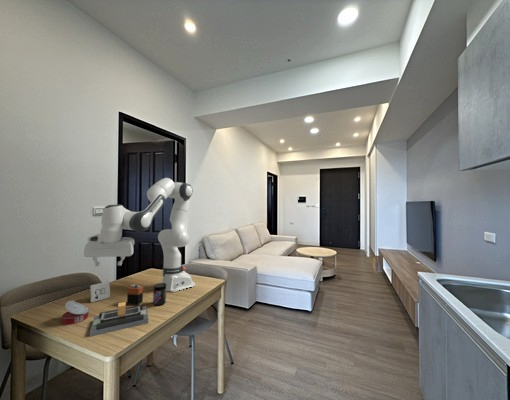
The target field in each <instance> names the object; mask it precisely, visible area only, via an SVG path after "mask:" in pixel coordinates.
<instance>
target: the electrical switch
mask: <svg viewBox="0 0 510 400" xmlns="http://www.w3.org/2000/svg"><path fill="white" fill-rule="evenodd" d="M110 288H111V287H110V281H105V282H100V283H96V284H91V285H90V286H89V289H90V290H89V291H90V300H89V301H90V303H96V302H99V301H102V300H106V299H109V298H111V289H110Z"/></svg>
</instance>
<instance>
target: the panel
mask: <svg viewBox="0 0 510 400" xmlns="http://www.w3.org/2000/svg"><path fill="white" fill-rule="evenodd" d="M148 314H149V313H148V309H147V306H146V305H145V306H143V304H138V305H132V306H128V307H127V306H126V309H125V315H121V316H118V308H117V309H112V310H108V311H102V312H99V314H98V315H94V317H93V321H92V324H91V327H90V330H89V337H93V336H98V335H102V334H106V333H111V332H115V331H119V330H124V329H128V328H131V327H132V328H133V327H136V326H141V325H145V324H148V323H149V315H148Z"/></svg>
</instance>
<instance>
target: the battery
mask: <svg viewBox="0 0 510 400" xmlns="http://www.w3.org/2000/svg"><path fill="white" fill-rule="evenodd" d="M143 294H144V285H140V284H138V285H136V284H130V286H128V287H127V296H126V297H127V298H126V300H127V301H126V304H127V305H132V306H138V305H141V303H143V302H144V301H143V297H144V295H143Z"/></svg>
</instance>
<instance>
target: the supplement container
mask: <svg viewBox="0 0 510 400" xmlns="http://www.w3.org/2000/svg"><path fill="white" fill-rule="evenodd" d="M166 286H167V284H166V283H162V282H159V283H156V284H153V293H152V294H153V296H152V297H153V299H152V304H153V306H155V307H159V306H163V305H165V304H166V302H167V291H166Z"/></svg>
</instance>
